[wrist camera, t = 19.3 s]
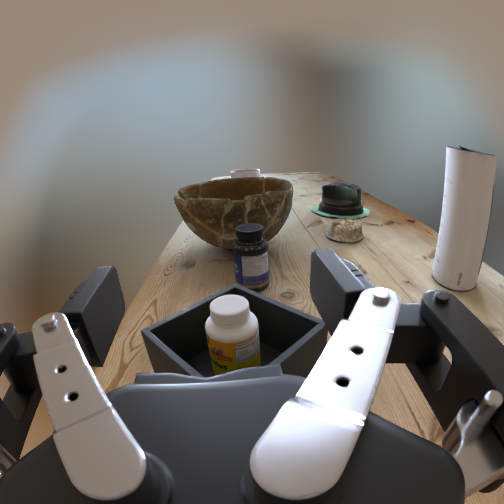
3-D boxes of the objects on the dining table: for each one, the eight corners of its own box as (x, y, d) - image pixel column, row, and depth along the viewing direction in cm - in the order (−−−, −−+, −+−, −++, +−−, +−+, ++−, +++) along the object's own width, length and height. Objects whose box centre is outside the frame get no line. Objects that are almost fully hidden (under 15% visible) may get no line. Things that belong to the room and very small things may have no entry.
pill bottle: (237, 277, 59) (232, 222, 55) (268, 276, 59) (266, 220, 54) (235, 293, 53) (229, 234, 49) (270, 292, 53) (267, 232, 49)
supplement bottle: (207, 369, 35) (193, 299, 31) (247, 354, 38) (240, 284, 34) (226, 399, 31) (214, 326, 27) (270, 380, 33) (267, 307, 29)
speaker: (477, 296, 44) (500, 153, 34) (429, 285, 50) (445, 143, 40) (474, 273, 52) (491, 151, 42) (433, 264, 58) (445, 143, 48)
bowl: (172, 274, 62) (160, 204, 56) (188, 232, 86) (182, 181, 81) (305, 264, 62) (305, 192, 57) (284, 225, 87) (283, 173, 82)
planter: (247, 200, 120) (246, 173, 115) (226, 197, 127) (224, 172, 123) (267, 194, 128) (266, 169, 124) (245, 192, 136) (244, 168, 132)
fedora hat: (374, 203, 103) (372, 220, 86) (330, 223, 113) (320, 243, 96) (355, 166, 100) (349, 176, 84) (311, 188, 110) (297, 202, 94)
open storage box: (236, 448, 25) (226, 404, 22) (156, 377, 34) (140, 330, 32) (323, 371, 34) (328, 322, 31) (239, 327, 44) (235, 283, 41)
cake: (357, 231, 81) (360, 212, 79) (367, 245, 72) (370, 224, 70) (322, 229, 81) (324, 210, 79) (328, 243, 72) (331, 221, 70)
